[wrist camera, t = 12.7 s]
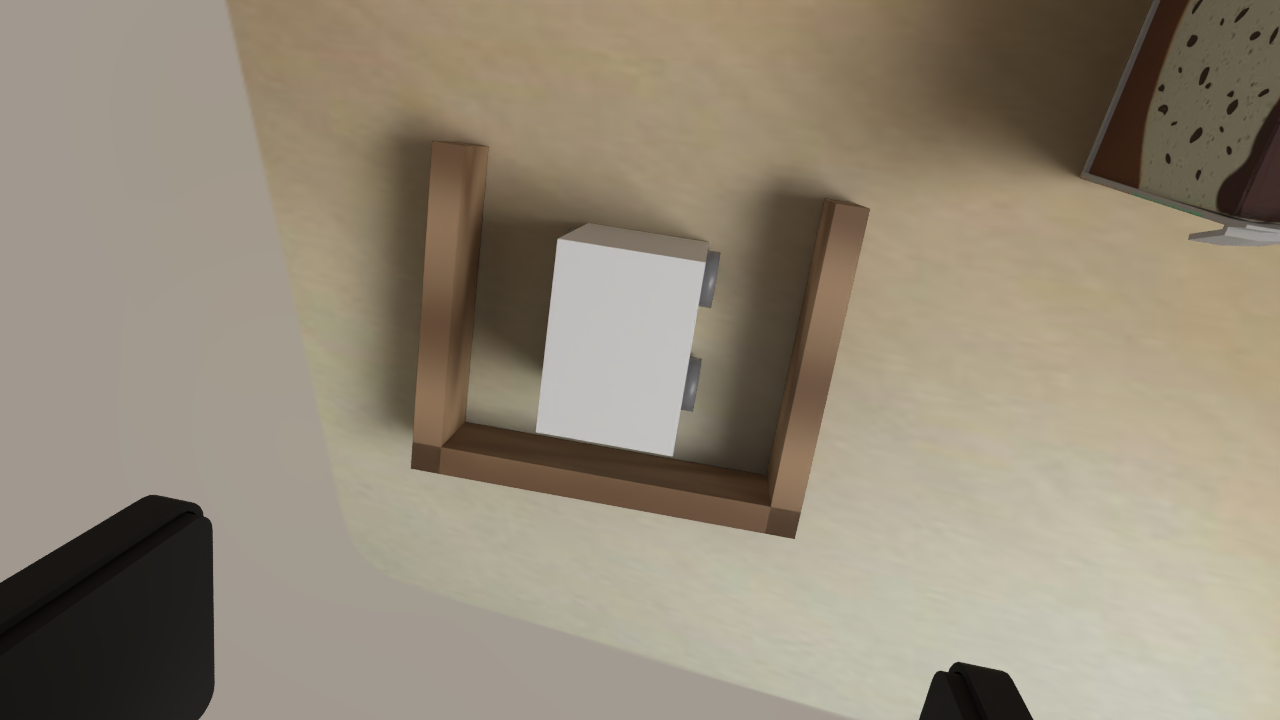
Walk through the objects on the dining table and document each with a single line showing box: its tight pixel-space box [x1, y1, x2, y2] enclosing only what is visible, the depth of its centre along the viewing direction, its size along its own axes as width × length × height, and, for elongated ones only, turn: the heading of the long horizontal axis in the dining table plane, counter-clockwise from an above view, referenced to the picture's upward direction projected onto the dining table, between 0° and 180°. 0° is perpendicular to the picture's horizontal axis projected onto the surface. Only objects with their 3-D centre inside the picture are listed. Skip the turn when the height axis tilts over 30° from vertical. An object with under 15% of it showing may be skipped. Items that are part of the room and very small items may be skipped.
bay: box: [411, 141, 870, 539], centre depth 30 cm, size 13×16×3 cm
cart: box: [536, 223, 720, 456], centre depth 29 cm, size 7×6×6 cm
